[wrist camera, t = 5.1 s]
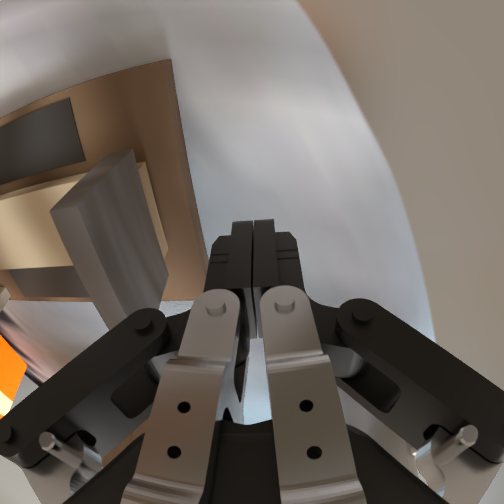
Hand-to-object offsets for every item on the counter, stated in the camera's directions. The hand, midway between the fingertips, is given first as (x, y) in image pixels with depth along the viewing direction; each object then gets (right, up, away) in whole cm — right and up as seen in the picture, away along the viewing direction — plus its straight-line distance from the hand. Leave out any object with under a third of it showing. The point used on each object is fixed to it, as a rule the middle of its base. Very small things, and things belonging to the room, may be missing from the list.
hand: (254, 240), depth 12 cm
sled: (-24, +1, +4) cm, 25 cm away
